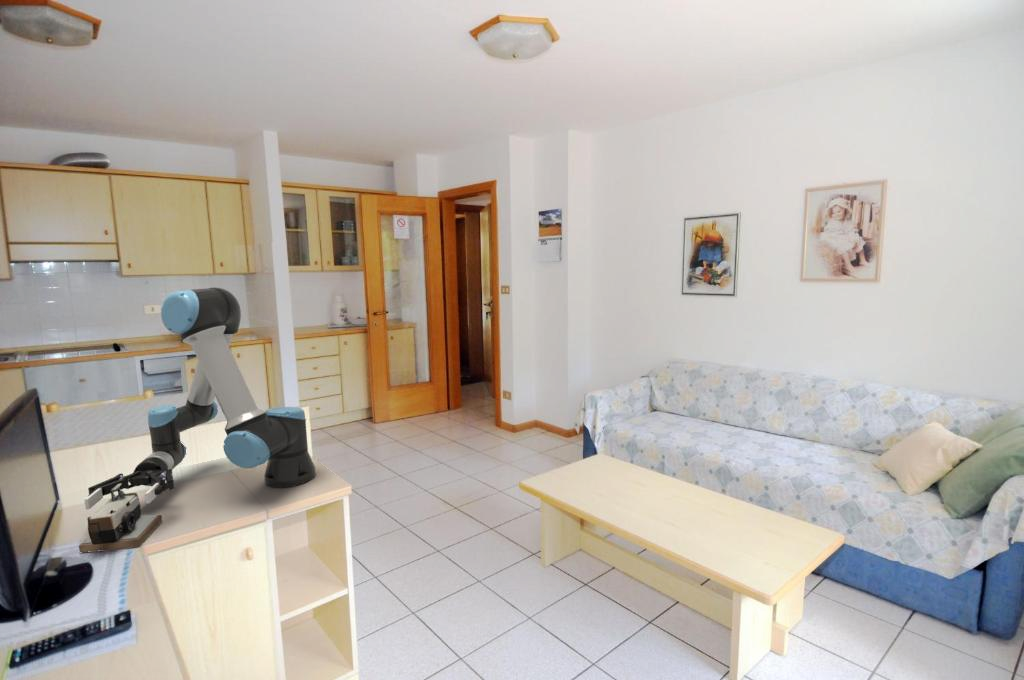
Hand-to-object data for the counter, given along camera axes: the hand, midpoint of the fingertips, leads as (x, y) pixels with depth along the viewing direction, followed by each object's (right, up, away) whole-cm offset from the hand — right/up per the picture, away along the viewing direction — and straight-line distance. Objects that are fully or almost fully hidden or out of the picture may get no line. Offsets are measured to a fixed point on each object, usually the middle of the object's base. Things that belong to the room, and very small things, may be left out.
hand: (117, 501), depth 136 cm
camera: (0, -8, +1) cm, 8 cm away
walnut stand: (0, -10, +2) cm, 10 cm away
